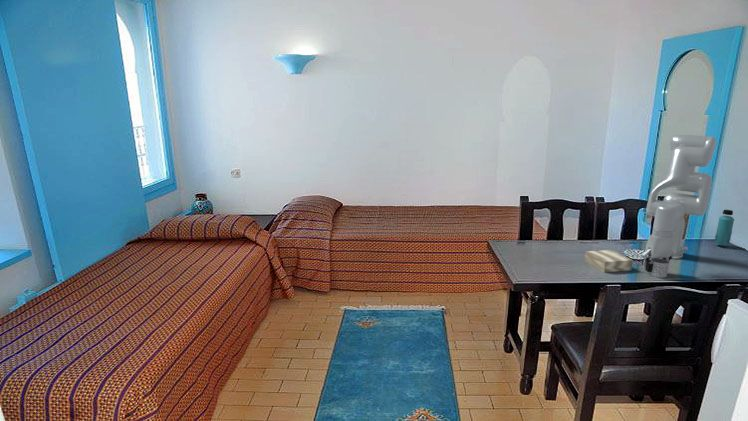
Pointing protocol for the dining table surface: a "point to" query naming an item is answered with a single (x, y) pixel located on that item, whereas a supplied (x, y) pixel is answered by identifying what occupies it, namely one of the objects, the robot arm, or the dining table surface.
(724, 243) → the beverage bottle
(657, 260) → the mug
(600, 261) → the base block
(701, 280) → the dining table surface
